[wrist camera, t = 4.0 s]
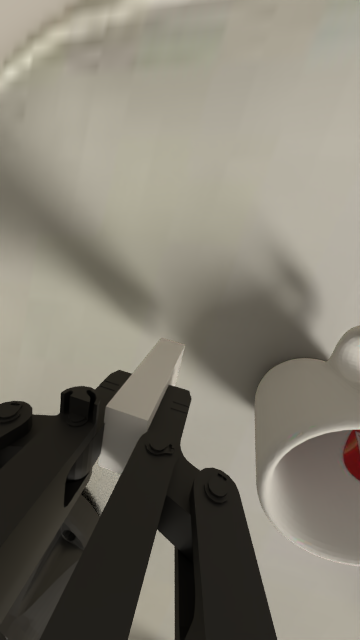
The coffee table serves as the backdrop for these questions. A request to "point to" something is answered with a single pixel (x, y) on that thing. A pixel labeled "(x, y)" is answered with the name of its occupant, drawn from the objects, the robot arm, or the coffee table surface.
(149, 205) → the coffee table surface
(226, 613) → the robot arm
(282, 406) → the cup
